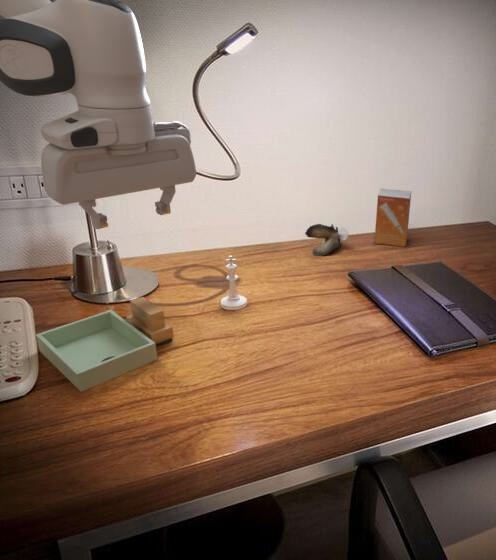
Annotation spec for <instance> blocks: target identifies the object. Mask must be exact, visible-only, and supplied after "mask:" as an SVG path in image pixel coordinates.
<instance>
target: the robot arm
mask: <svg viewBox="0 0 496 560" xmlns="http://www.w3.org/2000/svg"><path fill="white" fill-rule="evenodd" d="M0 16H1V17H2V18H1V19H0V82H1V84H3V85H4V86H5V87H7V88H8V89H9V90H11V91H13V92H14V93H17V94H19V95H22V96H28V97H33V98H34V97H35V98H47V97H53V96H57V95H67V94H71V95H73V96H74V98H75V100H76V104H77V108H78V110H76V111H73V112H71V113H69V114H67V115H64V116H62V117H60V118H57V119H54V120H51V121H49V122H47V123H44V124H42V125H41V127H40V133H41V136H42V138H43V139H44V140H45V141H46V142H47V144H46V145H45V146H44V147H43V148H42V151H41V154H40V155H41V156H40V164H41V176H42V183H43V187H44V191H45V194H46V195H47V197H48V198H50V199H51V200H53V201H54V202H56V203H58V204H60V205H63V206H65V205H71V204H76V203H78V205H79V206H80V207H81V209H83V210H84V211H85V213H87V214H88V216H90V221H91V225H92V227H93V228H94V229H95V230H102V229H105V228H109V223H108V216H107V215H105V214H103V213H102V212H97V211H96V210H95V209H94V208H95V207H96V206H97V202H96V200H98V199H105V198H110V197H116V196H121V195H127V194H132V193H137V192H144V191H150V190H155V189H159V190H161V191H162V194H161V195H160V199H159V200H158V201H155V202H154V206H155V213H156V214H157V215H160V216H165V215H169V214H171V212H172V211H171V203H172V201H173V199H174V196H175V194H176V186H177V185H178V186H179V185H184V184H189V183H192V182H194V180H195V178H196V177H197V167H196V162H195V158H194V154H193V151H192V146H191V145H192V139H191V132H190V130H189V128H188V127H187V125H185V124H183V123H181V122H180V121H176V120H172V121H169V122H167V121H166V122H161V121H160V122H154V118H153V117H154V116H153V112H152V109H153V108H152V102H151V99H150V97H149V95H148V92H147V87H146V77H147V64H146V57H145V51H144V50H145V49H144V46H143V41H142V35H141V32H140V28H139V24H138V21H137V18H136V16H135V14H134V12H133V10H132V9H131V8H130V7H129V6H128V5H127V4H125V3H124V2H123V1H120V0H0Z"/></svg>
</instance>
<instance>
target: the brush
mask: <svg viewBox="0 0 496 560" xmlns="http://www.w3.org/2000/svg"><path fill="white" fill-rule="evenodd" d="M129 303H130V309H131V314H129V315H126V316H125V318H126V321H127V322H128V323H129V324H131V325H132V326H133V327H135V328H136V329H137V330H139V331H140V332H141V333H143V334H144V335H145V336H147V337H148V338H149V339H151V340H152V341H153V342H155V344H156V348H160V347H161V346H164V345H166V344H168V343H171V342H173V338H174V337H175V336H174V328H173V326H172V325H170V324H169V323H168V322H166V320H165V313H164V310H163V309H162V308H160V307H159V306H157V304H154V303H153V302H152V301H150V300H148V299H147V298H145V297H144V296H141V297H138V298H135V299H132V300H130V301H129Z"/></svg>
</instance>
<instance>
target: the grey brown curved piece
mask: <svg viewBox="0 0 496 560" xmlns="http://www.w3.org/2000/svg"><path fill="white" fill-rule="evenodd" d="M304 234H305V236H306V237H307V238H311V239H312V238H313V239H324V240H323V241H322V242H321V244H320V245H319V246H317V247H316V248H314V249H312V252H311V253H312V255H313V256H326V255H329V253H331V252H332V251H333V250H335V249H337V248H338V247H339V246H341V245H342V244H341V241H342V242H345V241H346V240H347V239H348V238H349V231H348V230H347V229H346V228H344V227H341V228H340V229H339V227H338V226H334V224H333V223H331V225H330V226H329V225H326V224H325V225H324V224H321V223H316V224H313V225H310V226H309V227H308V228H306V231H305V232H304Z"/></svg>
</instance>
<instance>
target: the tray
mask: <svg viewBox="0 0 496 560" xmlns="http://www.w3.org/2000/svg"><path fill="white" fill-rule="evenodd" d="M35 338H36V342H37V346H38V350H39V352H40V353H41V354H42V355H43V356H44V357H45V358H46V359H47V360H48V361H49V362H50V363H51V364H52V365H53V366H54V367H55V368H56V369H57V370H58V371H59V372H60V373H61V374H62V375H63V376H64V377H65V378H66V379H67V380H68V381H69V382H70V383H71V384H72V385H73V386H75V388H76V389H77V390H78V391H79V392H81V393H83V392H85V391H86V390H90V389H91V388H93V387H96V386H98V385H101V384H103V383H106V382H108V381H111V380H112V379H115V378H117V377H120V376H122V375H124V374H127V373H129V372H132V371H134V370H136V369H139V368H142V367H144V366H146V365H149V364H151V363H153V362H155V361H157V360H159V357H158V350H157V347H156V344H155V342H153V341H152V340H151V339H149V338H148V337H147V336H145V335H144V334H143V333H141V332H140V331H139V330H137V329H136V328H135V327H133V326H132V325H131V324H129V323H128V322H127V320H125V319H124V318H123V317H121V316H120V315H119V314H118V313H116V312H115V311H113V310H112V309H109V310H105V311H103V312H100V313H97V314H94V315H90V316H88V317H85V318H82V319H77V320H76V321H73V322H70V323H67V324H64V325H61V326H57V327H54V328H50V329H49V330H44V331H42V332H39V333H36V334H35ZM112 356H116V357H113V358H111V359H108V360H106V361H103V362H102V360H104V359H106V358H108V357H112Z"/></svg>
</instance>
